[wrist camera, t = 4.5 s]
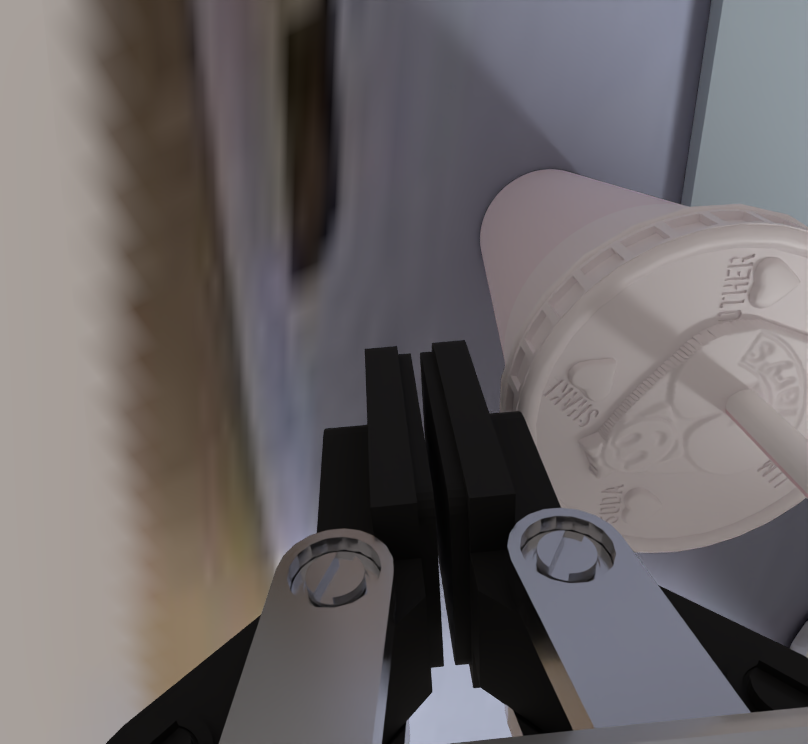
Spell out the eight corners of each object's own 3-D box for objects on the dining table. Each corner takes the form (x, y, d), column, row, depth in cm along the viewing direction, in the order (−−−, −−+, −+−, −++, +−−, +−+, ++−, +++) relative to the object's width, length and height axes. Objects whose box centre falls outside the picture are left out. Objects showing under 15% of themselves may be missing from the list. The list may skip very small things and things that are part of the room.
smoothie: (673, 280, 20) (1177, 694, 8) (480, 365, 21) (678, 856, 9) (618, 73, 17) (1292, 240, 5) (396, 181, 18) (523, 546, 6)
